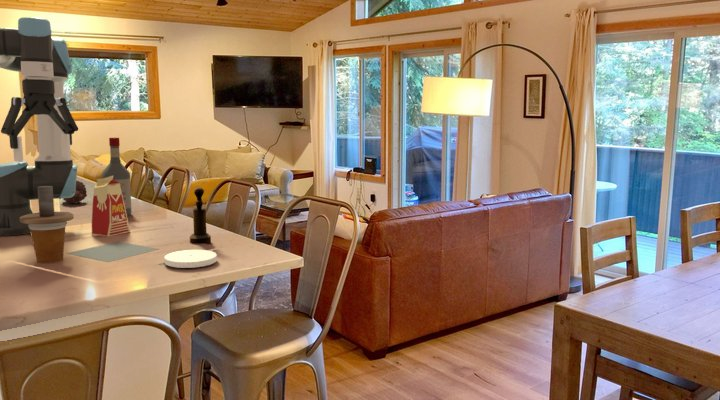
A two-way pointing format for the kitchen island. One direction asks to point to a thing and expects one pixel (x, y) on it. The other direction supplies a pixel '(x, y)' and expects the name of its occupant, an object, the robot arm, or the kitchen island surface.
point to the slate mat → (112, 251)
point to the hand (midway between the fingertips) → (43, 159)
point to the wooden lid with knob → (46, 210)
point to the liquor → (119, 173)
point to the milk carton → (108, 209)
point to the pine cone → (78, 193)
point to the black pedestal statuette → (199, 220)
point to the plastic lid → (190, 258)
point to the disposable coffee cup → (48, 241)
